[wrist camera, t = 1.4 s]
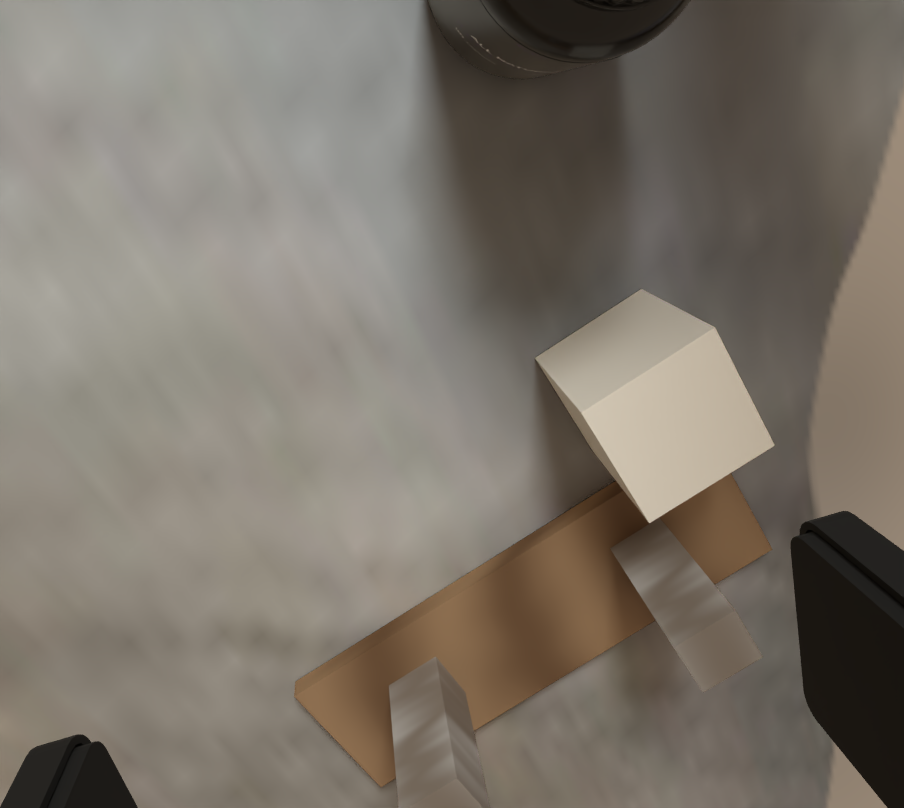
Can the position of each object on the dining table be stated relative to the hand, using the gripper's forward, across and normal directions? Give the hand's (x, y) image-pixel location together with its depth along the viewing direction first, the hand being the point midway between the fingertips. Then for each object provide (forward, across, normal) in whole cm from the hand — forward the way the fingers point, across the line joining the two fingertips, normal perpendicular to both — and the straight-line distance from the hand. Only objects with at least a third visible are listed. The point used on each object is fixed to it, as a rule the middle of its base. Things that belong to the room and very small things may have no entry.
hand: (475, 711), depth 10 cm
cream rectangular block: (+22, -9, +4) cm, 24 cm away
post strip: (+22, -3, +15) cm, 27 cm away
